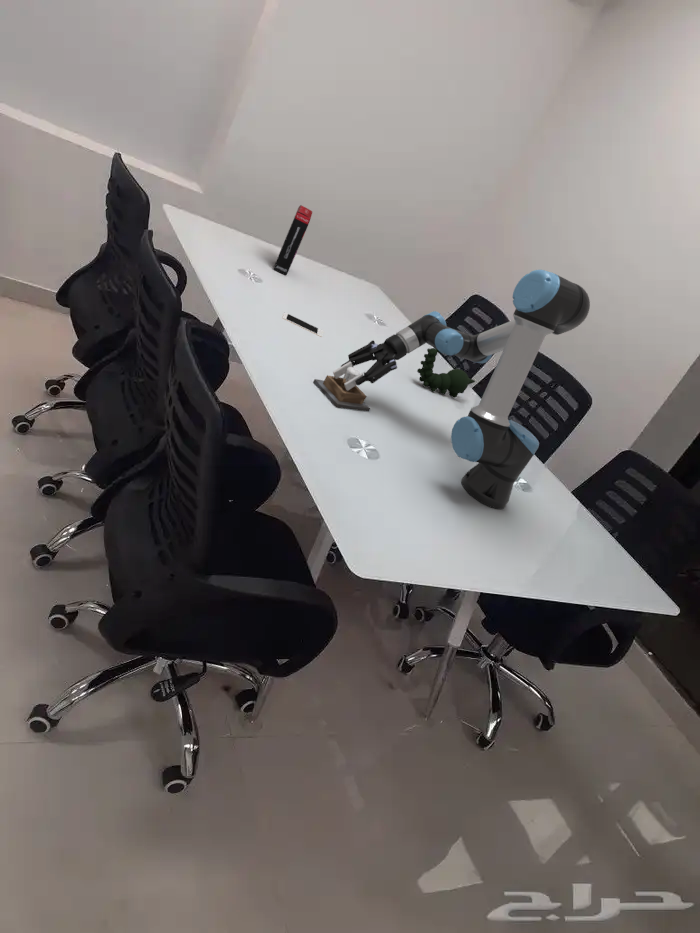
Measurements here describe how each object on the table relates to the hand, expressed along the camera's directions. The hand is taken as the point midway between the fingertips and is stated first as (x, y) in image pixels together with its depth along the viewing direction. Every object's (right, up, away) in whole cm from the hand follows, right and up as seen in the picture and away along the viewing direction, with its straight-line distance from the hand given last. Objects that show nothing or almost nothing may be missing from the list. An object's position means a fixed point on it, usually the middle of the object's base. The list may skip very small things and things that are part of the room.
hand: (340, 381), depth 222 cm
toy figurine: (+37, +3, +57) cm, 68 cm away
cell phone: (-15, +26, +47) cm, 56 cm away
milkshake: (+1, -4, +4) cm, 6 cm away
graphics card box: (-28, +62, +99) cm, 120 cm away
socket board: (0, -4, +5) cm, 7 cm away
